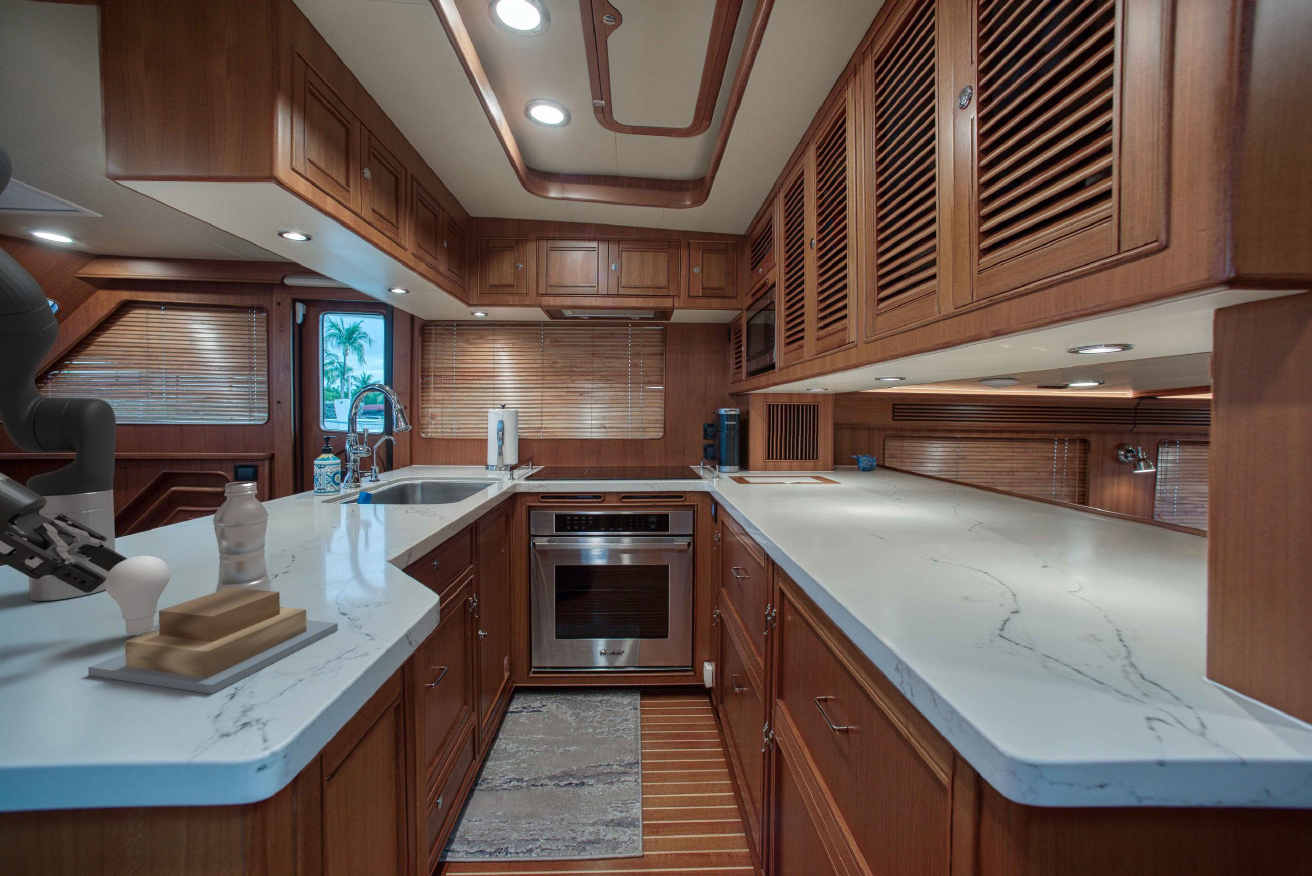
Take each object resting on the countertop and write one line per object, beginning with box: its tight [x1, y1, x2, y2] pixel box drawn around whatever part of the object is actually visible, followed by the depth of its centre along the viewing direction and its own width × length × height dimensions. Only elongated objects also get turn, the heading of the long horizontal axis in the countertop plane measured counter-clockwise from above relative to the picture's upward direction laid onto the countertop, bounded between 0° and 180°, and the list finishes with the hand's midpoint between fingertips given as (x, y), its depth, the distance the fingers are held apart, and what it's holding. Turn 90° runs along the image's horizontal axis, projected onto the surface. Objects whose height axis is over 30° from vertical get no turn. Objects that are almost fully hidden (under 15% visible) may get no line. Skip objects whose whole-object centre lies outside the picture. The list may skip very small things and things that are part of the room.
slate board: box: [87, 619, 339, 695], centre depth 61 cm, size 18×16×1 cm
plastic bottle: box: [212, 481, 272, 592], centre depth 73 cm, size 6×7×20 cm
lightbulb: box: [105, 555, 172, 637], centre depth 64 cm, size 6×6×11 cm
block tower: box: [124, 587, 307, 678], centre depth 59 cm, size 12×12×6 cm
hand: (112, 577), depth 63 cm, fingers open, 8 cm apart
